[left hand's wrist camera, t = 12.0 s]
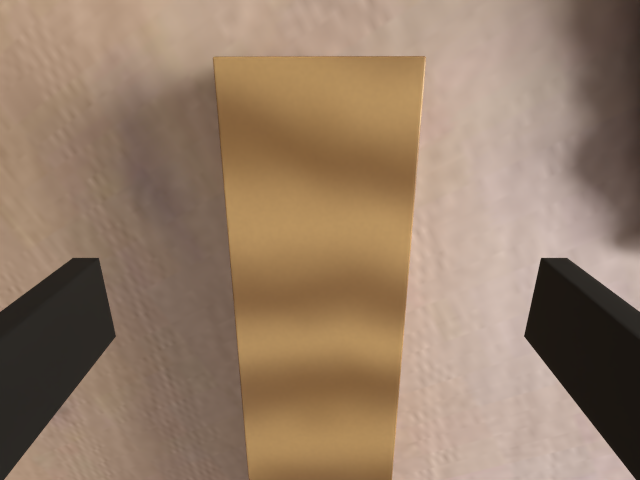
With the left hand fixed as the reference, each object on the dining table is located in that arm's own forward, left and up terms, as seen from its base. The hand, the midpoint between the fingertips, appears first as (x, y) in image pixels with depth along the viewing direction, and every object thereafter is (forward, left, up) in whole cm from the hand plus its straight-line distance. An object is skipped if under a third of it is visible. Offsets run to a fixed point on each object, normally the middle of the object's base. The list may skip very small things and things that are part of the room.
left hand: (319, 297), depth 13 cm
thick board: (+20, 0, -17) cm, 27 cm away
